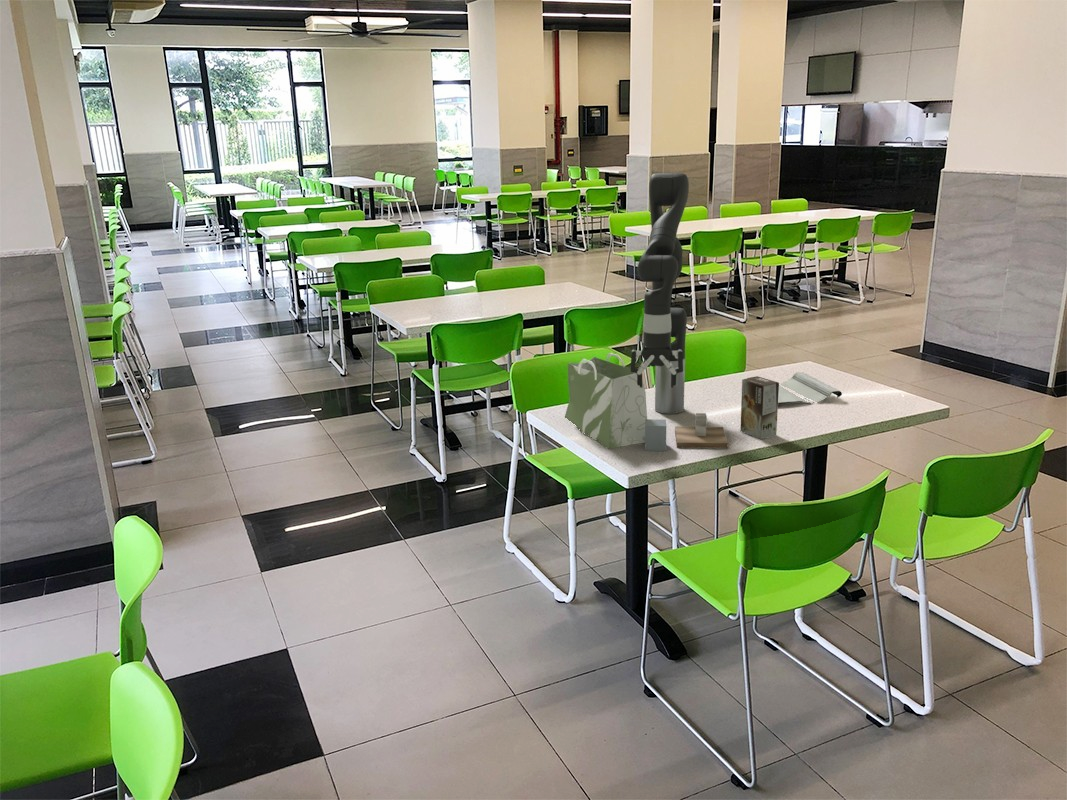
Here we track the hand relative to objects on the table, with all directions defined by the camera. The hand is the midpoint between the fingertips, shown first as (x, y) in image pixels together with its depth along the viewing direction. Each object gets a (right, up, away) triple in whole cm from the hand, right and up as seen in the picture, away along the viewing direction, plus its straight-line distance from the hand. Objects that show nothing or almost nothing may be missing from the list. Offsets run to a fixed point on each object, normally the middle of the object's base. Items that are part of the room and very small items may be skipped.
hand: (656, 386), depth 226 cm
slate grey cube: (0, -17, +5) cm, 18 cm away
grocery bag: (-13, -13, +21) cm, 28 cm away
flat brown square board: (+14, -15, +10) cm, 23 cm away
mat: (+53, -3, +50) cm, 72 cm away
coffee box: (+32, -14, +14) cm, 37 cm away
